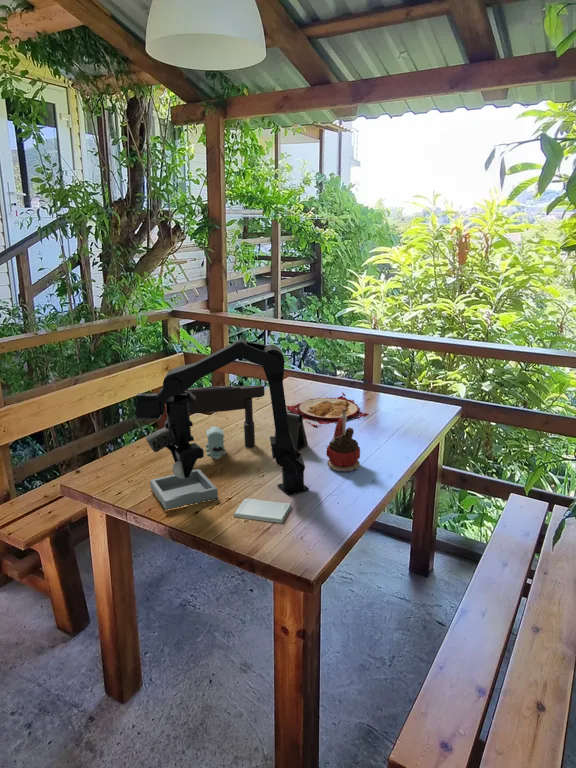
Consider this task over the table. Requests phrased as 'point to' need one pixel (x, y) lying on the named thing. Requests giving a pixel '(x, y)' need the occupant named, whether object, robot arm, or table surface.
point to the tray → (183, 490)
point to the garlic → (178, 470)
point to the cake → (343, 448)
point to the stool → (225, 401)
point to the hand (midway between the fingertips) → (182, 473)
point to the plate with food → (326, 409)
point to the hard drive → (263, 510)
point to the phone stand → (297, 430)
